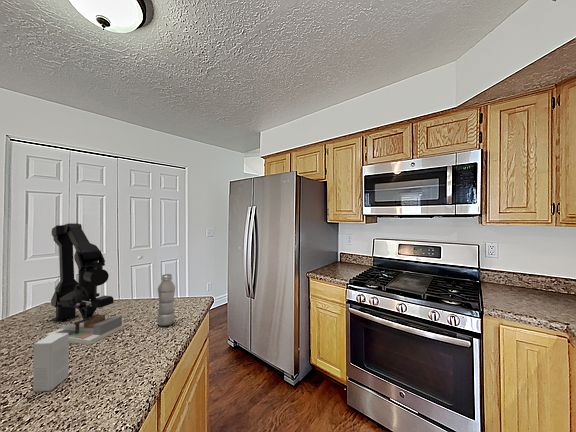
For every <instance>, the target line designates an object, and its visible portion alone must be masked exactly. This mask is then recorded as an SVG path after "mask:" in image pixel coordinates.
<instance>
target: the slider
mask: <svg viewBox="0 0 576 432" xmlns="http://www.w3.org/2000/svg"><path fill="white" fill-rule="evenodd" d="M103 320H106V314H99V313H96V314H93V316H90V317H88V318H85V319H84V320H81V321H79V320H78V321H76V322H74V323H73V324H74V325H75V334H78V333H79V323H81V322H84V327H86V328H93V325H94V324H96V323H98V322H101V321H103Z"/></svg>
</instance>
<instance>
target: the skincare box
mask: <svg viewBox="0 0 576 432" xmlns="http://www.w3.org/2000/svg"><path fill="white" fill-rule="evenodd" d="M69 343H70V342H69V333H52V334H50V335H49V336H47V337H46V336H45V337H44V338H42V339H40V340H38V341H36V342H34V343H33V367H32V368H33V369H32V370H33V371H32V372H33V376H32V377H33V379H32V381H33V382H32V384H33V385H32V386H33V387H32V388H33V389H32V390H33V393H35V392H36V393H38V392H51V391H52V390H54V389H55V388H56V387H57V386H58V385H60V384H61V383H62V382H63V381H64V380H66V379H67V378H68V377H69V351H70V350H69V349H70V348H69V347H70V345H69Z"/></svg>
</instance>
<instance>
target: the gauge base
mask: <svg viewBox="0 0 576 432" xmlns="http://www.w3.org/2000/svg"><path fill="white" fill-rule="evenodd" d="M81 320H83V318H82V317H81V318H79V319H78V322H79V321H81ZM122 322H123V316H122V315H113V316H110V317H108V318H105V320H103V321H101V322H98V323H96V324H94V325H93V328H86V327H84V322H81V323H79V333H78V334H75V325H74V323H71V324H69V325H68V324H62V325H61V328H59V329H56V330H54V331H51V332H48V333H46V334H45V337H47V336H49V335H50V334H52V333H69V343H73V344H74V343H75V344H81V345H87V346H90V345H92V344H95V343H96V342H98V341H101V340H102V339H104V338H107V337H109V336H110V335H113V334H114V333H115V334H116V333H117V332H119V331H121V330H123V329H124V328H125V324H123V323H122Z"/></svg>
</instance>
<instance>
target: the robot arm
mask: <svg viewBox="0 0 576 432" xmlns="http://www.w3.org/2000/svg"><path fill="white" fill-rule="evenodd" d="M82 227H83V226H82V224H81V223H76V222H75V223H74V222H73V223H68V222H67V223H65V224H59V225H58V224H57V225H55V226H54V227H52V228H51V236H52V237H53V242H55V244H56V245H57V246H58V253H59V254H58V255H59V256H58V259H59V282H58V283H57V285H56V286H55V288H54V293H53V295H52V297H51V299H50V305H51V306H52V307H54V308H55V317H54V318H52V319H51V321H54V322H67V321H69V320H72V319H75V318H77V317H79V314H76V311H77V310H79V313H80V315H81V318H82V319H83V320H84V319H85V318H88V317H90V316H93V315H95V311H96V310H97V309H100V308H104V307H106V306H109V305H112V304H114V296H112V295H102V296H100V292H99V293H98V286H99V287H100V286H101V285H105V283H107V282H108V281H109V280H108V279H109V273H108V271H107V270H105V269H103V268H104V267H105V265H106V264H105V263H106V260H105V257H104V255H103V253H102V251H101V249H100V248H99V247H98V246H97V245H95V244H93V243H91V242H90V240H89V239H88V237H87V236H86V234H85V232H84V230H83V228H82ZM74 249H75V253H74ZM75 264H76V265H77V270H78V271H77V273H78V275H77V277H78V278H77V280H76V279H75ZM76 309H77V310H76Z"/></svg>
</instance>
